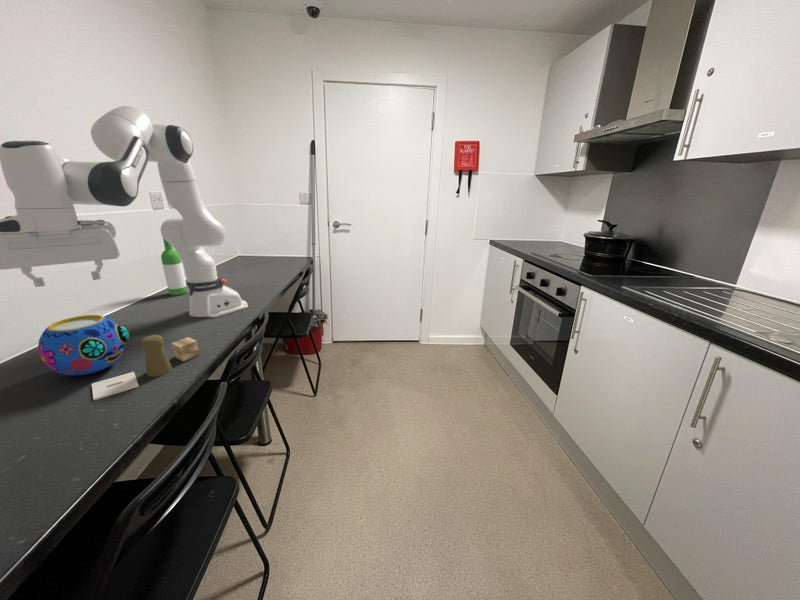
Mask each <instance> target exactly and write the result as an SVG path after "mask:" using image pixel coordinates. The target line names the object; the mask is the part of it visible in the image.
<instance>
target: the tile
mask: <svg viewBox="0 0 800 600" xmlns="http://www.w3.org/2000/svg"><path fill="white" fill-rule="evenodd" d="M139 387H140V386H139V382H138V380H137V376H136V373H135V371H131V372H128V373H124V374H120V375H118V376H114V377H111V378H107V379H103V380H100V381H97V382H92V383H91V390H92V398H93V401H96V400H99V399H104V398H106V397H110V396H112V395H113V396H114V395H116V394H120V393H123V392H126V391H130V390H133V389H135V388H139Z"/></svg>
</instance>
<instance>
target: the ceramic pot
mask: <svg viewBox="0 0 800 600" xmlns="http://www.w3.org/2000/svg"><path fill="white" fill-rule="evenodd" d="M129 337H130V333H129V330H128V329H127V328H126V327H124V326H122V325H119V324H117V323H116V322H115V321H113V320H112V319H111V318H109V317H106V316H104V315H99V314H86V315H80V316H79V315H78V316H73V317H69V318H65V319H64V318H63V319H62V320H58V321H55V322H54V323H52V324H50V325H48V326H47V327H46V328H45V329H44V330H43V332H42V333H41V335H40V337H39V340H38V346H37V347H38V354H39V357H40V359H41V360H42V362H43V363H44V365H45V366H46V367H48V368H49V369H50V370H52V371H54V372H55V373H58V374H60V375H64V376H86V375H90V374H91V375H92V374H94V373H98V372H100V371H102V370H104V369H107V368H108V367H110V366H112V365H113V364H115V363H116V362H117V361H118V360H119V359H120V358H121V356H122V354H123V352H124V348H125V345H126V343H127V342H128V341H129Z"/></svg>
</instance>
